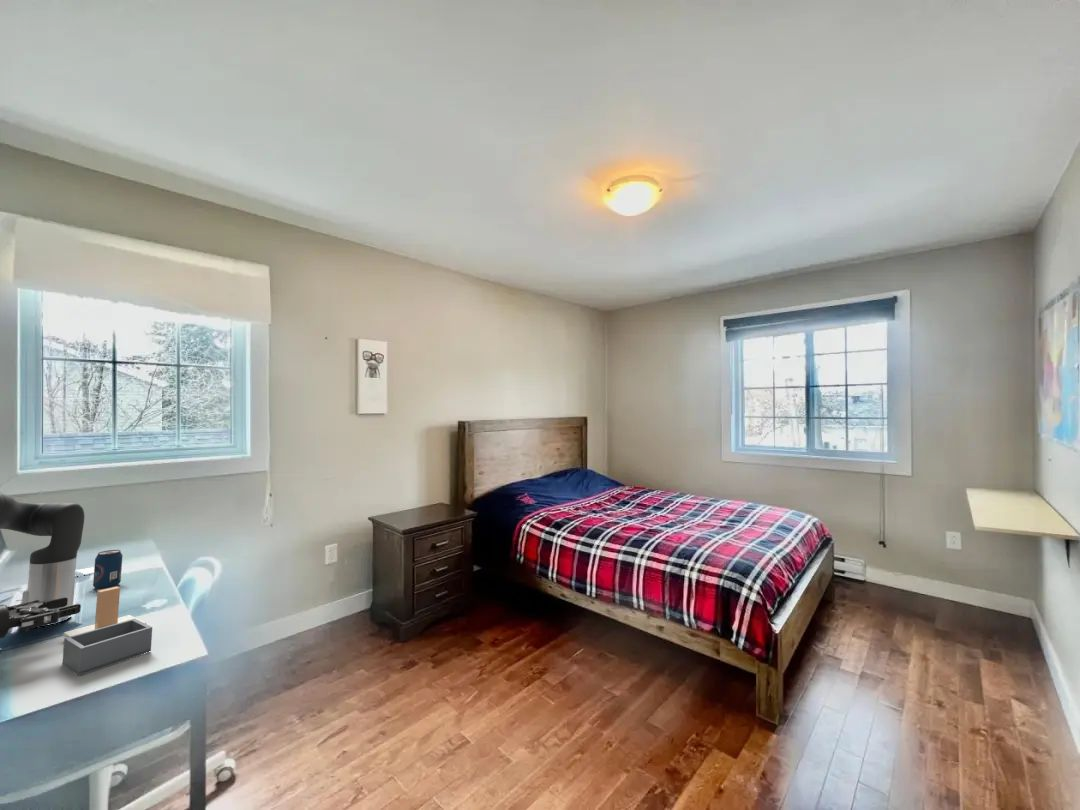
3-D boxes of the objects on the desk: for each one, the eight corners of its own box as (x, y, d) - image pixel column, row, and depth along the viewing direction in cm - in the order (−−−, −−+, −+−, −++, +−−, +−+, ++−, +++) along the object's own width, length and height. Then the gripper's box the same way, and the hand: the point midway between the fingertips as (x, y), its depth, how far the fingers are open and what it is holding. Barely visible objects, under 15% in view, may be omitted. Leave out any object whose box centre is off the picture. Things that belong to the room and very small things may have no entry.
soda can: (88, 588, 155) (90, 553, 155) (113, 582, 161) (115, 548, 162) (99, 591, 152) (102, 555, 153) (124, 585, 158) (127, 550, 159)
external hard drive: (55, 577, 167) (101, 569, 177) (61, 582, 162) (108, 573, 173) (56, 573, 167) (101, 565, 177) (62, 577, 162) (108, 568, 173)
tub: (78, 676, 101) (81, 648, 101) (62, 664, 106) (64, 638, 106) (150, 651, 112) (152, 627, 113) (132, 642, 117) (134, 618, 117)
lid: (78, 651, 112) (82, 600, 113) (63, 641, 117) (66, 593, 118) (145, 630, 124) (148, 585, 125) (128, 622, 129) (131, 579, 130)
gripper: (-16, 617, 98) (85, 594, 112) (-34, 604, 105) (64, 584, 119) (-19, 653, 98) (83, 625, 112) (-37, 637, 104) (61, 613, 119)
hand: (73, 604), depth 115 cm, fingers open, 8 cm apart
